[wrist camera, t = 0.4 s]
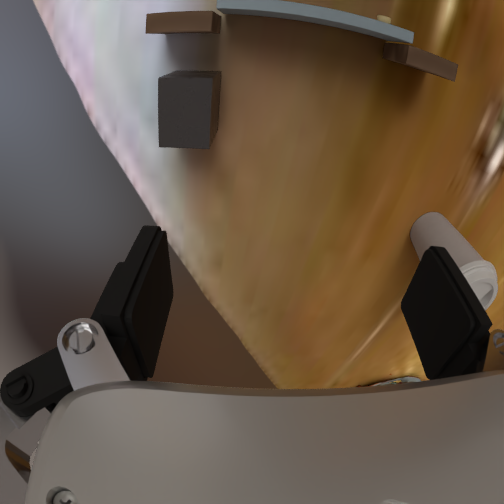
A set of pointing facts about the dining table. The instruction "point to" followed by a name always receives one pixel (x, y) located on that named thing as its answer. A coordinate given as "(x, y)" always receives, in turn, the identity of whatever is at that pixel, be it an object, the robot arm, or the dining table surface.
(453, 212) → the dining table surface
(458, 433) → the robot arm
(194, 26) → the pair of brown blocks
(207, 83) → the dark grey block
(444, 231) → the coffee cup
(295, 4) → the grey curved plank
